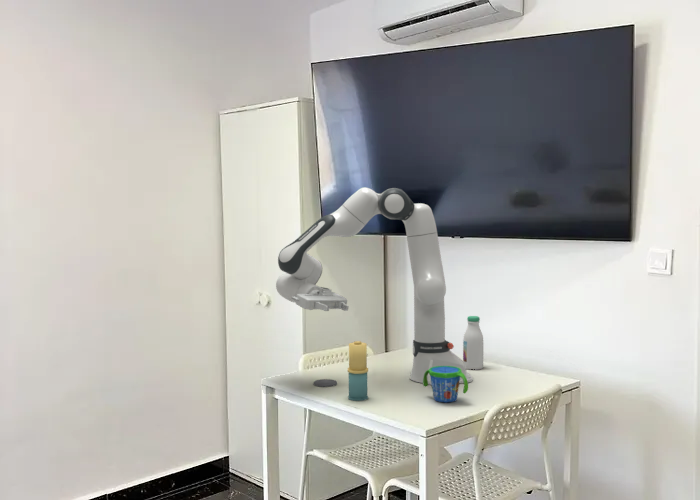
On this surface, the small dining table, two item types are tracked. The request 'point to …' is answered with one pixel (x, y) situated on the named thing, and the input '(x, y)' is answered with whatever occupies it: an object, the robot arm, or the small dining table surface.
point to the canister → (358, 387)
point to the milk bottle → (473, 344)
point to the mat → (325, 382)
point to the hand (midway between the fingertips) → (337, 308)
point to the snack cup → (445, 382)
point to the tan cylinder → (357, 357)
